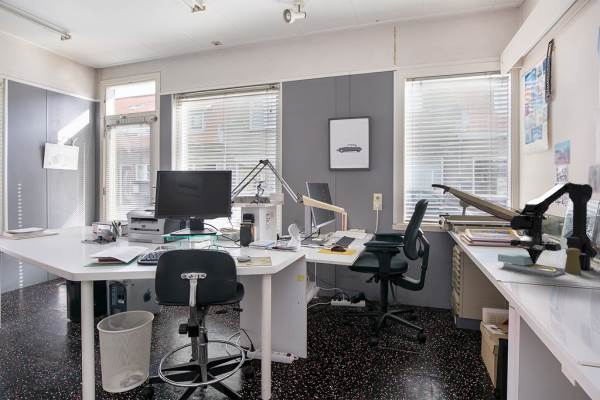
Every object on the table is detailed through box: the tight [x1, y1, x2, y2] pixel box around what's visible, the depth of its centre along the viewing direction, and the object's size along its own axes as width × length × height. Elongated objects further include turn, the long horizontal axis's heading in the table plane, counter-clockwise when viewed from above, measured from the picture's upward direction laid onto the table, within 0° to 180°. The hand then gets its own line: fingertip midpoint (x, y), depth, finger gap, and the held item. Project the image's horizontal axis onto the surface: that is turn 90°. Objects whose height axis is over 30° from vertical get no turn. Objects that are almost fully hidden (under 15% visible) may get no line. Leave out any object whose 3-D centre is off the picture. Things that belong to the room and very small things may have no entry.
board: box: [502, 262, 565, 278], centre depth 152 cm, size 12×20×2 cm, turn 30°
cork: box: [564, 247, 582, 275], centre depth 148 cm, size 6×6×11 cm
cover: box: [497, 251, 533, 266], centre depth 158 cm, size 12×12×4 cm
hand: (534, 263), depth 152 cm, fingers closed
